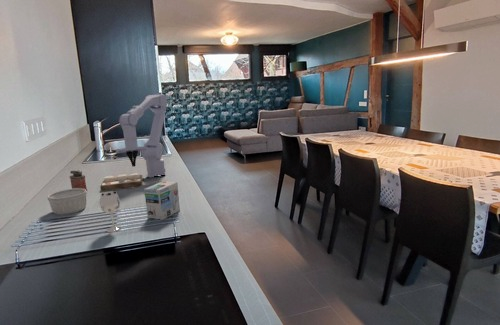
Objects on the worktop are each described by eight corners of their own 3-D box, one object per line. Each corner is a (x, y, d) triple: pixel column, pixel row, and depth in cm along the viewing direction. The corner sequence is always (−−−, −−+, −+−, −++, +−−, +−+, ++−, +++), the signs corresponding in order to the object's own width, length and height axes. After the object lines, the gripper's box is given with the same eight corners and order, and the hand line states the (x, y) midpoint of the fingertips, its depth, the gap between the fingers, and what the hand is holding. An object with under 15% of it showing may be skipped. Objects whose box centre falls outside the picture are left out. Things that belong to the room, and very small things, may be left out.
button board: (142, 179, 174) (142, 174, 174) (141, 186, 160) (141, 181, 159) (105, 183, 170) (104, 178, 169) (101, 191, 155) (100, 186, 155)
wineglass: (116, 224, 112) (111, 190, 110) (127, 227, 109) (122, 192, 106) (100, 230, 107) (95, 194, 105) (111, 234, 104) (105, 197, 102)
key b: (127, 180, 168) (126, 174, 168) (126, 181, 164) (126, 175, 164) (119, 181, 167) (118, 175, 167) (118, 182, 163) (117, 176, 163)
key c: (114, 181, 167) (113, 175, 166) (113, 183, 163) (113, 177, 162) (106, 182, 166) (105, 176, 165) (105, 184, 162) (104, 178, 161)
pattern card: (140, 179, 164) (140, 178, 164) (140, 181, 160) (140, 180, 160) (103, 183, 160) (102, 182, 160) (101, 185, 156) (101, 184, 156)
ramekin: (62, 218, 122) (59, 199, 120) (43, 213, 129) (40, 195, 127) (95, 207, 133) (93, 190, 131) (76, 203, 140) (73, 186, 138)
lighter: (89, 190, 158) (86, 169, 156) (83, 192, 155) (80, 171, 153) (75, 190, 160) (72, 169, 158) (70, 192, 157) (66, 171, 155)
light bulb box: (162, 220, 114) (159, 189, 112) (146, 218, 116) (143, 188, 114) (180, 210, 123) (178, 181, 121) (165, 208, 126) (162, 180, 124)
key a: (140, 178, 170) (139, 172, 169) (139, 180, 166) (139, 174, 165) (131, 179, 169) (130, 173, 168) (131, 181, 165) (130, 175, 164)
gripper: (113, 141, 158) (117, 169, 160) (145, 138, 161) (149, 166, 164) (115, 139, 164) (118, 166, 167) (146, 136, 168) (149, 163, 171)
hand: (133, 166), depth 166 cm, fingers closed
